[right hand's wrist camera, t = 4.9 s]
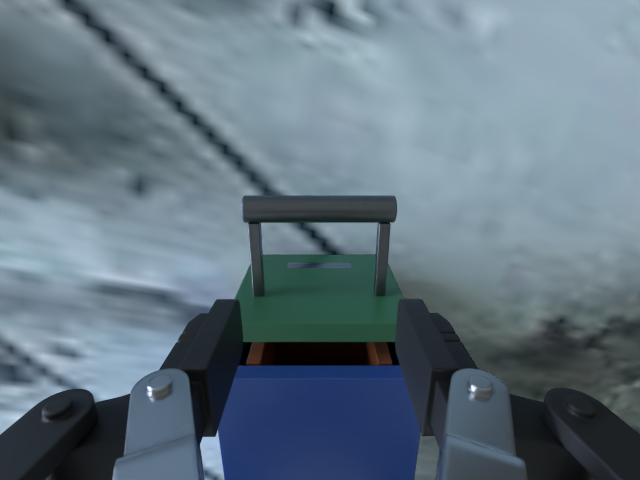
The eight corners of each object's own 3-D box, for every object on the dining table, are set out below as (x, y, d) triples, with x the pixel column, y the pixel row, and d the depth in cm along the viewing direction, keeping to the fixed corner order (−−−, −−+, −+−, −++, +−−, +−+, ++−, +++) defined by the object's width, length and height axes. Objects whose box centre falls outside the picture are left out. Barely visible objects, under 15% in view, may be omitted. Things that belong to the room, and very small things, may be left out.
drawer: (248, 176, 24) (210, 211, 15) (389, 176, 24) (428, 210, 15) (266, 418, 31) (246, 531, 23) (373, 418, 31) (392, 531, 23)
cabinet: (250, 279, 28) (210, 378, 17) (387, 279, 28) (428, 378, 17) (263, 441, 34) (238, 586, 23) (375, 441, 34) (400, 585, 23)
